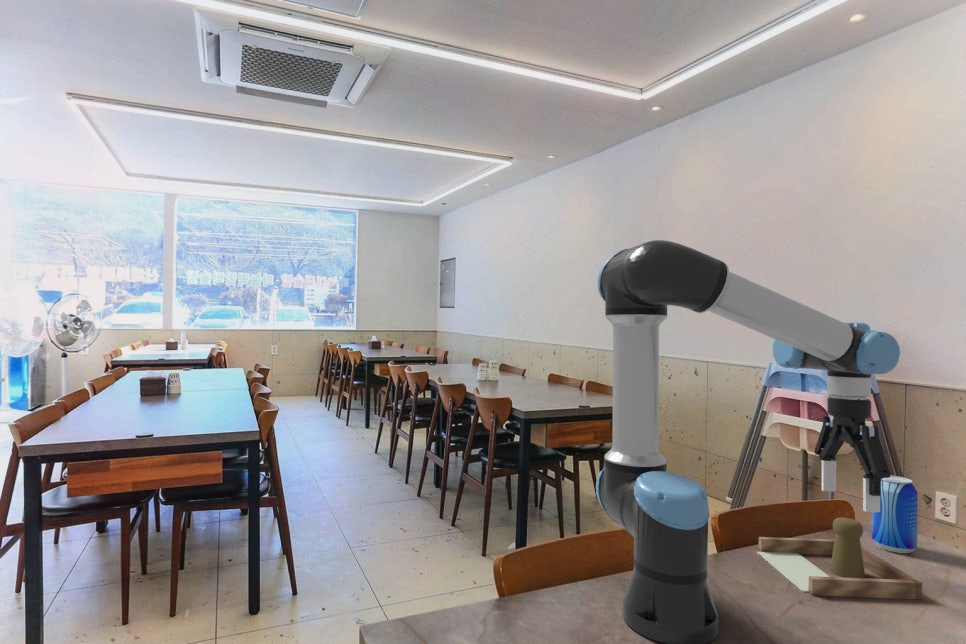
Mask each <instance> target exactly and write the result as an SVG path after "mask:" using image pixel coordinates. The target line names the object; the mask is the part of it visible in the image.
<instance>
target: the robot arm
mask: <svg viewBox="0 0 966 644" xmlns="http://www.w3.org/2000/svg"><path fill="white" fill-rule="evenodd" d="M729 269H730V268H729V266H728V264H727V263H726V262H724V261H723V260H720V259H717V258H715V257H714V256H712V255H709V254H707V253H704V252H701V251H700V250H697V249H694V248H691V247H690V246H686V245H683V244H681V243H678V242H674V241H670V240H659V239H658V240H657V239H655V240H649V241H647V242H644V243H641V244H639V245H636V246H633V247H630V248H625V249H622V250H620V251H617V252H615V253H614V254H613V255H612V256H610V257H609V258H607V260H606V261H605V262H604V263H603V265H602V266H601V268H600V270H599V272H598V275H597V290H598V292H599V296H600V298H602V300H603V301H604V302H605V313H604V314H605V315H604V317H605V318H606V319H607V320H608V321H609V322H610V324H611V325H612V327H613V329H612V332H613V333H612V334H613V335H612V435H611V436H612V440H611V441H612V445H611V446H612V447H611V448H610V450H608V451H607V452H606V453H605V454H604V459H603V468H602V469H601V470H600V471H599V473H598V475H597V478H596V483H595V490H596V491H595V492H596V498H597V500H598V503H599V505H600V506H601V508H602V509H603V510H604V512H605V514H606V515H607V516H608V517H609V518H610V519H611V520H612V521H614V522H615V523H617V524H618V525H620V527H622V528H623V529H624V530H625V531H627V533H628V534H630V535H631V536H632V537H634V538H633V539H634V541H633V545H634V546H633V570H632V573H631V575H630V578H629V580H628V584H627V587H626V589H625V592H624V595H623V599H622V609H621V610H622V611H621V612H622V613H621V614H622V618H623V620H624V622H625V624H627V625H628V626H629V628H631V629H632V630H634V631H635V632H637V634H640V635H641V636H643V637H646V638H648V639H650V640H653V641H656V642H659V643H662V644H708V643H710V642H712V641H715V639H716V638H717V637H718V636H719V635H718V634H719V614H718V611H717V608H716V605H715V602H714V599H713V595H712V591H711V589H710V586H709V582H708V557H709V556H708V555H709V553H708V552H709V550H708V549H709V548H708V547H709V519H710V509H709V508H710V507H709V498H708V494H707V491H706V490H705V488H704V487H703V486H702V485H701V484H700V483H699V482H697V481H696V480H694V479H693V478H691V477H687V476H685V475H679V474H678V473H675V472H669V471H667V463H668V462H667V459H666V457H665V456H664V455H663V454H661V452H660V451H659V384H660V383H659V381H660V380H659V377H660V376H659V375H660V373H659V368H660V366H659V363H660V362H659V361H660V359H659V358H660V357H659V354H660V348H659V347H660V325H661V324H662V323H663V322H664V321H665V320H667V318H668V306H674V307H680V308H684V309H687V310H691V311H693V312H696V313H697V314H703V313H706V312H710V313H713V314H715V315H717V316H719V317H722V318H724V319H726V320H729V321H731V322H733V323H735V324H738V325H740V326H742V327H745V328H747V329H749V330H752V331H755V332H757V333H759V334H761V335H763V336H767V337H769V338H771V339H773V343H772V356H773V358H774V360H775V362H776V364H778V365H779V366H780V367H782V368H785V369H793V370H798V369H808V370H809V369H810V370H811V369H812V370H821V371H827V372H826V376H827V381H826V383H827V387H826V388H827V389H826V390H827V392H826V393H827V394H828V395H829V396H828V398H827V405H826V406H827V408H826V409H827V410H826V411H827V414H828V415H824V416H823V418H822V425H821V429H820V432H819V436H818V438H817V442H816V445H815V448H814V455H816V456H818V459H820V462H821V463H820V464H821V465H820V466H821V468H820V469H821V491H822V492H834V493H835V492H836V493H837V461H836V460H837V457H836V456H837V454H838V453H839V451H840V449H841V448H842V446H843V445H844V443H846V444H848V445H849V446H850V447H851V448H852V449H854V452H855V454H856V456H857V459H858V460H859V463H860V465H861V467H862V469H863V471H864V475H862V512H865V513H872V512H880V495H881V479H883V478H889V477H890V475H891V473H890V469H889V466H888V465H889V464H888V463H887V459H886V457H885V453H884V450H883V447H882V444H881V441H880V438H879V427H878V425H867V424H866V420H867V419H869V418H872V401H871V400H870V399H868V398H870V397H871V396H872V382H871V381H872V379H871V378H872V375H884V374H888V373H890V372H891V371H893V370H894V369H895V368H896V367H897V364H898V363H899V360H900V357H901V348H900V345H899V343H898V341H897V339H896V338H895V337H894V336H893V335H891V334H890V333H888V332H884V331H877V330H871V326H870V325H869V324H868V323H865V322H843V321H841V320H839V319H837V318H834V317H833V316H830V315H827V314H826V313H823V312H821V311H820V310H817V309H814V308H811V307H810V306H808V305H805V304H803V303H801V302H798V301H796V300H794V299H792V298H790V297H788V296H785V295H783V294H781V293H779V292H776V291H774V290H771V289H769V288H768V287H765V286H763V285H760V284H758V283H757V282H754V281H752V280H750V279H747V278H745V277H742V276H740V275H738V274H737V273H734V272H731V271H730V270H729Z"/></svg>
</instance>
